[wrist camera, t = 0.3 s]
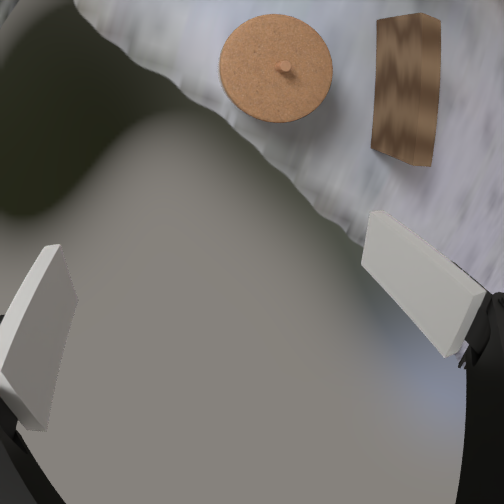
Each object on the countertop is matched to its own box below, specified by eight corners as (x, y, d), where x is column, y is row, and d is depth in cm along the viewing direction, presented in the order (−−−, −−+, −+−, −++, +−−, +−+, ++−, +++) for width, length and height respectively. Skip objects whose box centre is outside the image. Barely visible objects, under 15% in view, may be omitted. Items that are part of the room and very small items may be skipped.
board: (376, 20, 31) (421, 12, 23) (394, 25, 31) (440, 20, 24) (370, 147, 40) (412, 165, 32) (388, 148, 40) (430, 166, 32)
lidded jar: (253, 10, 28) (278, -12, 20) (320, 69, 33) (362, 68, 25) (190, 77, 31) (195, 73, 23) (263, 134, 36) (291, 149, 28)
